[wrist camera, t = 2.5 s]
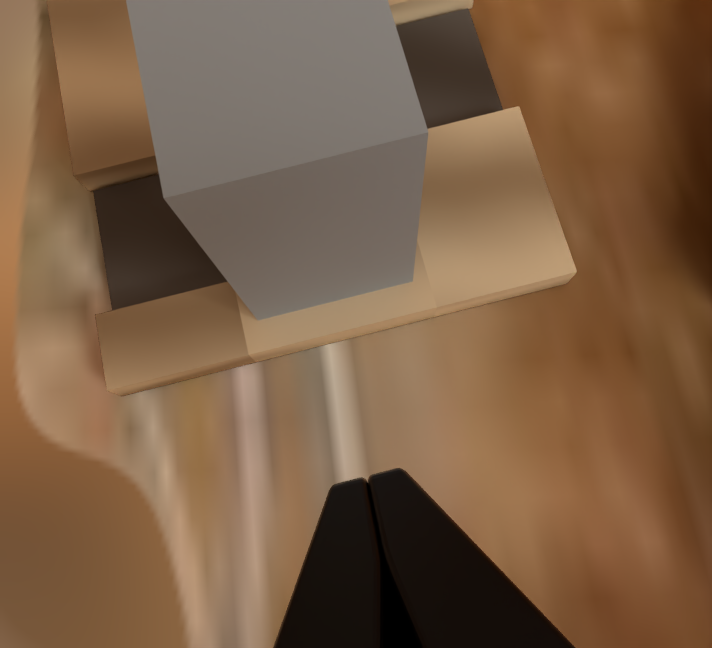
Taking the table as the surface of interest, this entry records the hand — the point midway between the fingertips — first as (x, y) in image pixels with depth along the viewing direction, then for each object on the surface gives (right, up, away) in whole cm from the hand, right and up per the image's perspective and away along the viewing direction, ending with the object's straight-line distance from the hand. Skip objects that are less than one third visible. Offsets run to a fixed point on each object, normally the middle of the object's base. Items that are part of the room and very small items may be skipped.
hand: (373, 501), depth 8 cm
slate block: (-1, +5, +14) cm, 15 cm away
